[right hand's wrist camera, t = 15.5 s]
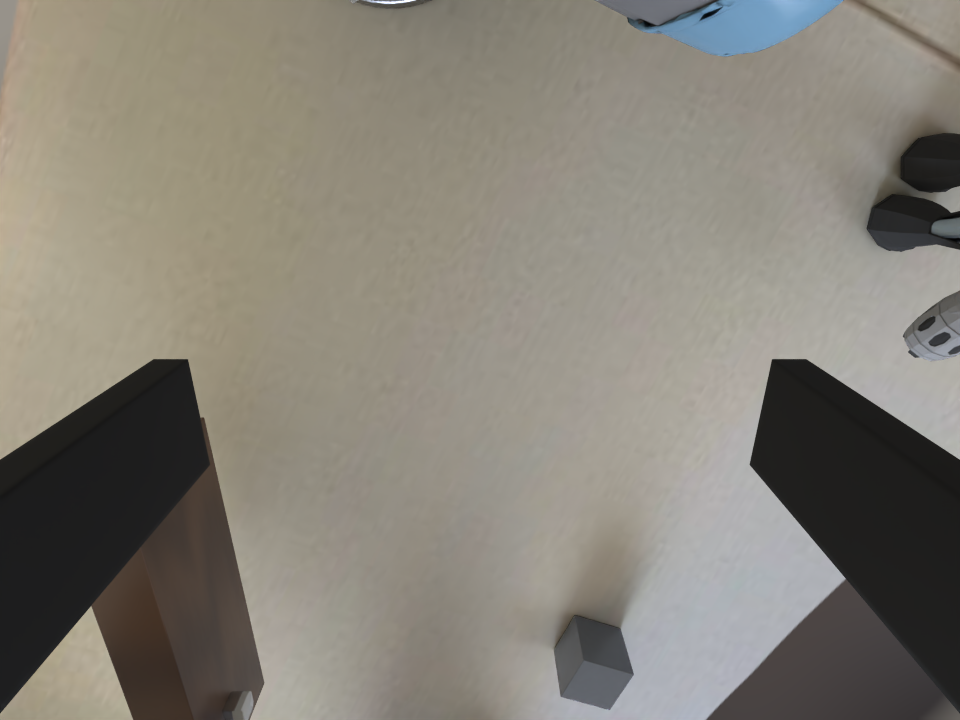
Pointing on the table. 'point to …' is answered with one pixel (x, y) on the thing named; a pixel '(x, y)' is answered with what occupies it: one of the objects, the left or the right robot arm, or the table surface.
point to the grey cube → (592, 663)
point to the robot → (925, 235)
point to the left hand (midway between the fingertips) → (208, 696)
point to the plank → (182, 614)
